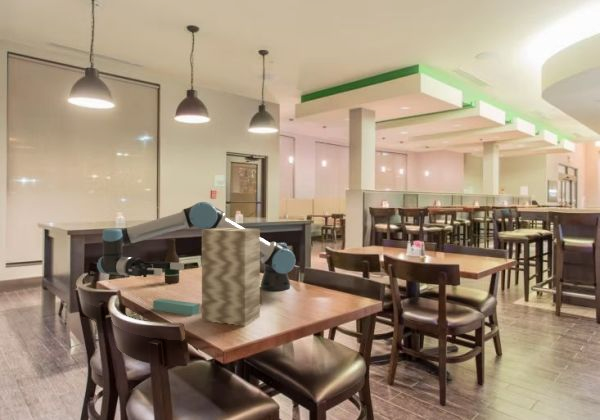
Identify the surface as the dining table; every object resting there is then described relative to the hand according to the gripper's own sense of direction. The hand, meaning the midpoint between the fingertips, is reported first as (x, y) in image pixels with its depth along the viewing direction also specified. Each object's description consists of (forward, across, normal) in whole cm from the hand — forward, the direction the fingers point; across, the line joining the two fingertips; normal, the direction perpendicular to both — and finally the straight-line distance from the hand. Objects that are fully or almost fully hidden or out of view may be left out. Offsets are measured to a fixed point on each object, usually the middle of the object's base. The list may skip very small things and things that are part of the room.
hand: (173, 269), depth 155 cm
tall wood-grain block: (+26, 0, -17) cm, 32 cm away
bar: (0, -1, -18) cm, 18 cm away
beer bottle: (-36, -45, -17) cm, 60 cm away
